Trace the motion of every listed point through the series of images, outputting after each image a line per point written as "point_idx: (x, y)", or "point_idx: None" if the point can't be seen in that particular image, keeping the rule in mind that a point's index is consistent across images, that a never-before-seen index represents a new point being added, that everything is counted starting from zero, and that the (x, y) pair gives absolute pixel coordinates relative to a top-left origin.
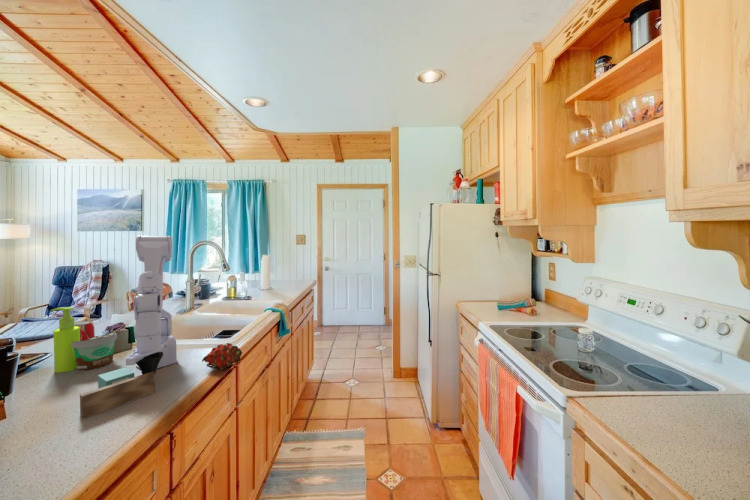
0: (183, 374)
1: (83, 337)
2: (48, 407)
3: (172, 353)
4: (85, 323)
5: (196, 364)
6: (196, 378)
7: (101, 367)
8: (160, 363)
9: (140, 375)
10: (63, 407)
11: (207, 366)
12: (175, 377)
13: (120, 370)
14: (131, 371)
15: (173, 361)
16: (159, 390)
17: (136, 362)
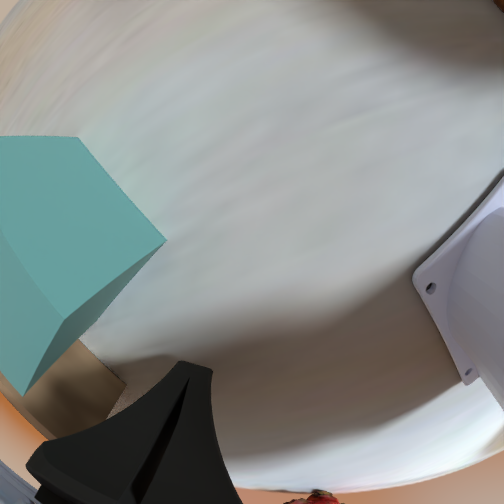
0: (288, 450)
1: None
2: (56, 6)
3: (498, 399)
4: None
5: (389, 451)
6: (230, 476)
7: (494, 2)
8: (461, 345)
9: (30, 414)
10: (33, 62)
11: (297, 500)
12: (261, 436)
13: (8, 295)
14: (24, 383)
15: (472, 372)
16: (130, 403)
17: (55, 447)
